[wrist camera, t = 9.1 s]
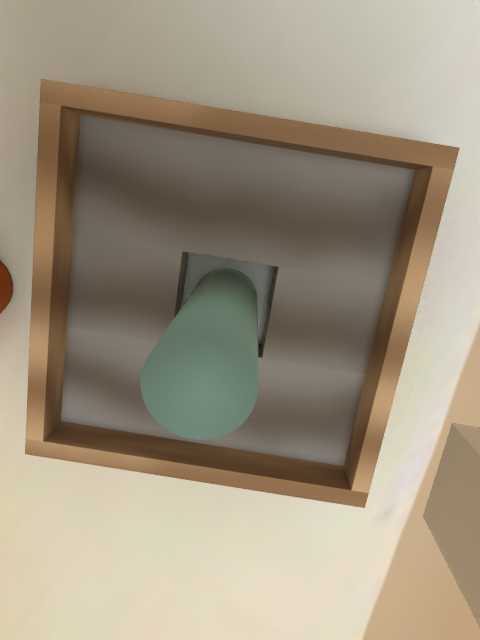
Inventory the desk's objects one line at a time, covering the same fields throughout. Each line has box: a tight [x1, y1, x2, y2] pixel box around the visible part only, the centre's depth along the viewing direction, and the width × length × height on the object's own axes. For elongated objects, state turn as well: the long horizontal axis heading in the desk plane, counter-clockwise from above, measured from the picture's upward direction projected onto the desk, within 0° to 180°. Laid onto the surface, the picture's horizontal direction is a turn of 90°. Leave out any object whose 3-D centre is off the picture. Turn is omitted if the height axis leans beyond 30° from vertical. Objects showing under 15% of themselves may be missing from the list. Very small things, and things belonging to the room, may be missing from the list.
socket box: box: [25, 79, 459, 508], centre depth 27 cm, size 20×20×5 cm
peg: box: [140, 269, 258, 440], centre depth 22 cm, size 4×4×14 cm
